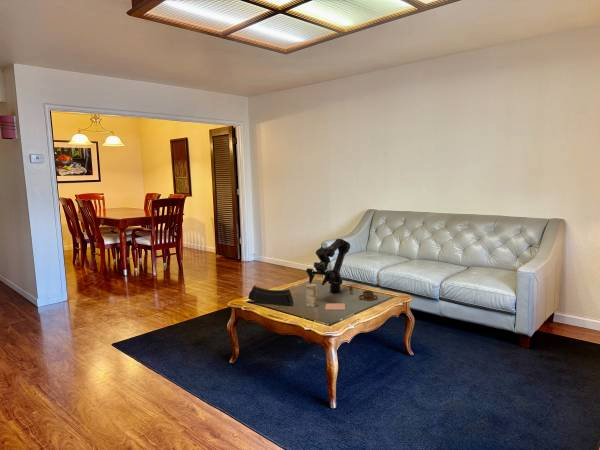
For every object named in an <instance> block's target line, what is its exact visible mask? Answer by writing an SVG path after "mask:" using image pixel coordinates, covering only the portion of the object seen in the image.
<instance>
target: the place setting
mask: <svg viewBox="0 0 600 450" xmlns="http://www.w3.org/2000/svg"><path fill="white" fill-rule="evenodd" d="M353 289H354V287H353V286H351V285H350V286H348V290H349V291H350V293H349V295H353V293H352V292H353ZM373 296H374V297H373ZM375 297H376V298H375ZM358 298H359V300H360V301H367V302H368V301H369V302H373V301H375V300H377V299H378V297H377V294H374V291H372V290H364V291H362V294H360V295H359V296H358ZM372 300H373V301H372Z"/></svg>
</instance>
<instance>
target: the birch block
mask: <svg viewBox="0 0 600 450" xmlns="http://www.w3.org/2000/svg"><path fill="white" fill-rule="evenodd" d="M305 297H306V299H305V303H306V306H307V307H312V308H314V307H316V306H318V284H316V283H315V284H314V283H311V284H309V283H308V284H306V285H305Z"/></svg>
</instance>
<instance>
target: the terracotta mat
mask: <svg viewBox="0 0 600 450" xmlns="http://www.w3.org/2000/svg"><path fill="white" fill-rule="evenodd" d="M325 310H326V311H346V304H345V303H337V302H336V303H333V302H332V303H325Z"/></svg>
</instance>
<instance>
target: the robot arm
mask: <svg viewBox="0 0 600 450" xmlns="http://www.w3.org/2000/svg"><path fill="white" fill-rule="evenodd" d="M337 250H338V253H337V257H336V260H335V262H334V265H333V268H332V269H329V268H328V266H329V264H331V262H332V261H331V259H330V258H333V257H334V256H335V254H336V253H335V252H336V251H337ZM350 250H351V244H350V243H349V242H348V241H346V240H344V239H343V238H336V239H335V241H333V243H332V244H331V245H330V246H325V247H323V246H320V248H318V249H316V251H315V255H316V256H317V258H318V259H319V260H320V261H319V262H314V263H313V268H315V270H314V269H313V268H311V267H310V268H306V270H305V272H306V274H307V275H308V278H309V279H308V281H309V283H308V284H312V282H313V280H314V278H315V275H318V276H319V275H320V276H324V278H323V280H322V283H321V286H324V285H326V283H328V284H330V285H329V292H330V293H331V294H339V293H342V291H341V285H343V279H342V278H341V277H342V275H341V269H342V266H343V262H344V259H345V257H346V254H348V253H349V251H350ZM328 269H329V270H328Z"/></svg>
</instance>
